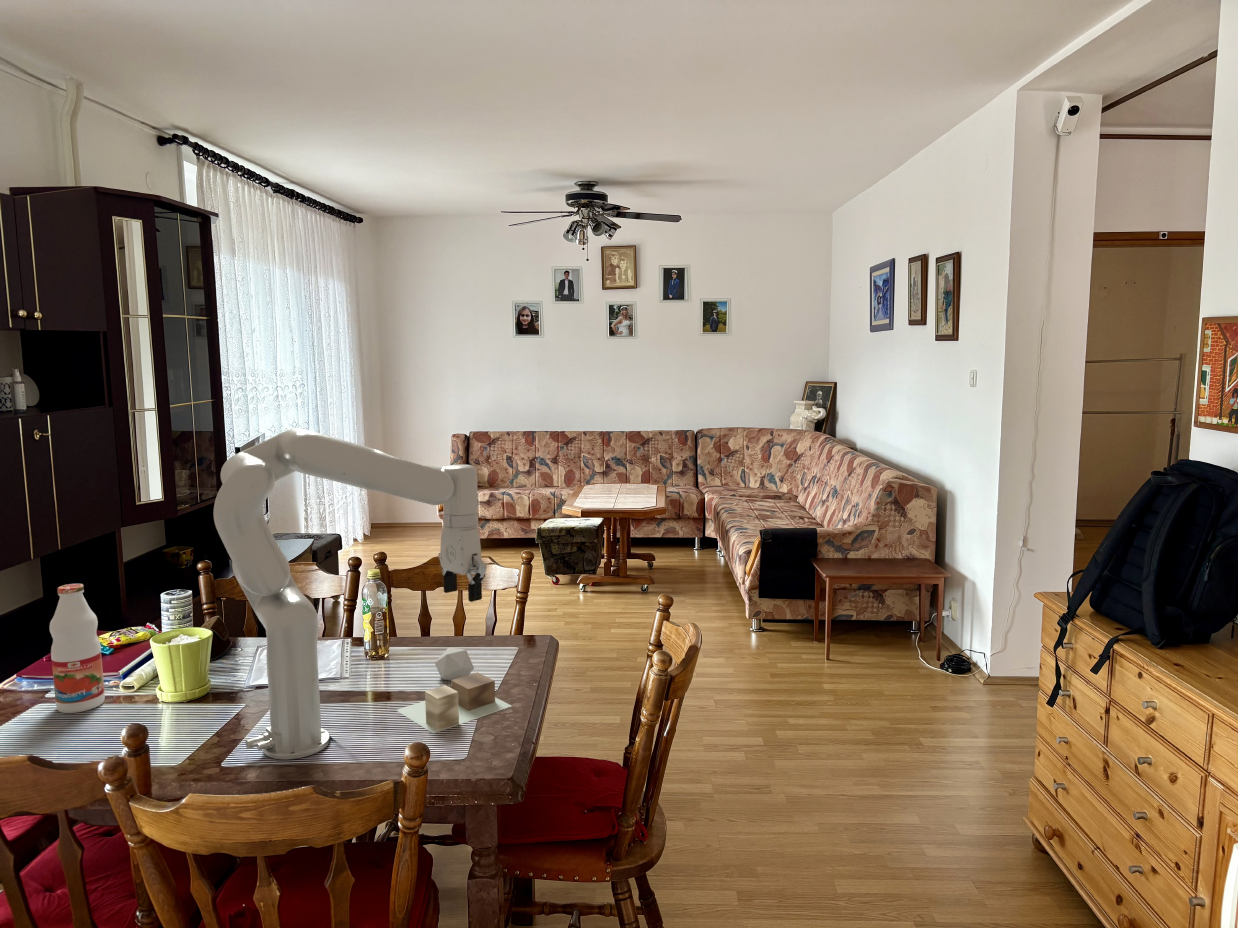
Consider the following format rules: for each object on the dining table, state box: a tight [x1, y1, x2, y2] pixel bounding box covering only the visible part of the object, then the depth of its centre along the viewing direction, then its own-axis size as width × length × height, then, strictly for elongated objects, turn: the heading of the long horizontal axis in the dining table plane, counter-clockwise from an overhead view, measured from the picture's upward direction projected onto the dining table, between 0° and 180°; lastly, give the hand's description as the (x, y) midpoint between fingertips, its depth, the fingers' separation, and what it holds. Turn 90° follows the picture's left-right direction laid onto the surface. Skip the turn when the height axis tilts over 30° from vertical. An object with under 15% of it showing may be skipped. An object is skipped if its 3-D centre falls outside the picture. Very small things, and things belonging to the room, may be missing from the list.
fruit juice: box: [49, 583, 106, 714], centre depth 187 cm, size 9×9×28 cm
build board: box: [395, 696, 512, 735], centre depth 184 cm, size 20×16×1 cm
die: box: [434, 647, 475, 682], centre depth 202 cm, size 8×9×10 cm
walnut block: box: [450, 671, 496, 711], centre depth 187 cm, size 7×7×5 cm
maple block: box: [424, 684, 459, 730], centre depth 176 cm, size 5×5×7 cm
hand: (462, 595), depth 185 cm, fingers open, 9 cm apart
